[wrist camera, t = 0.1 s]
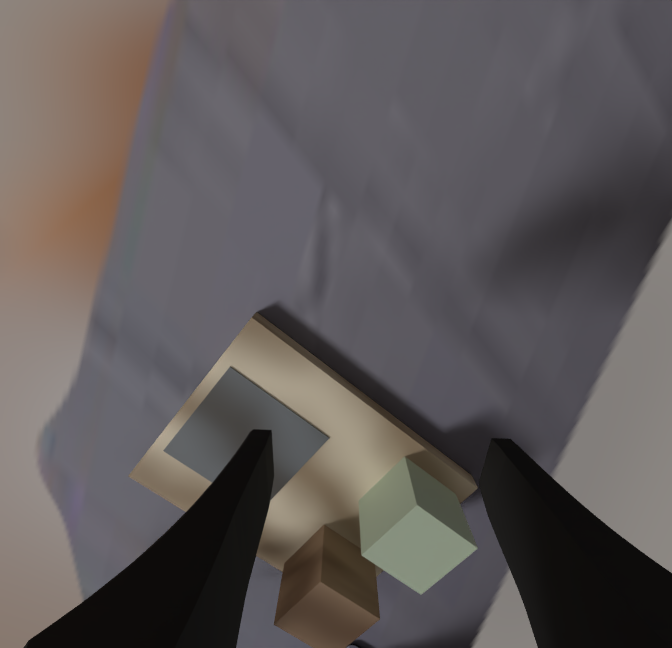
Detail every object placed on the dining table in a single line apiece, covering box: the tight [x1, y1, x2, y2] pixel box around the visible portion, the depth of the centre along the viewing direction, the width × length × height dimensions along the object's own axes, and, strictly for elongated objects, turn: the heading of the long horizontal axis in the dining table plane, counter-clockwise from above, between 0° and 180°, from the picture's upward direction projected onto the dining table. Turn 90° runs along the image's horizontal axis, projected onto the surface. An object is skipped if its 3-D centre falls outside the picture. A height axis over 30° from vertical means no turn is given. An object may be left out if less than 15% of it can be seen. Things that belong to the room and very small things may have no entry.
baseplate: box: [129, 312, 478, 577], centre depth 24 cm, size 14×18×1 cm
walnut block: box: [274, 525, 380, 648], centre depth 23 cm, size 4×4×4 cm
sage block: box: [359, 456, 478, 594], centre depth 22 cm, size 4×4×4 cm
